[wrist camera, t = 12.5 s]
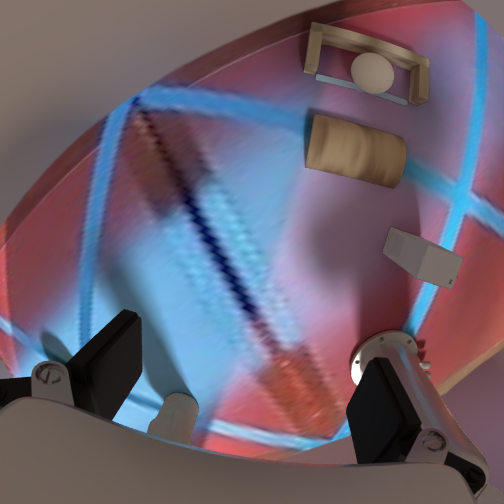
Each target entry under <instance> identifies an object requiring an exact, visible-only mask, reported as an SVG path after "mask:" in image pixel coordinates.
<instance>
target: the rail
mask: <svg viewBox="0 0 504 504" xmlns="http://www.w3.org/2000/svg"><path fill="white" fill-rule="evenodd" d="M321 44H324V45H328V46H333V47H337V48H341V49H345V50H348V51H352V52H356V53H359V54H364V53H376V54H379V55H381V56H383V57H384V58H386V59H387V60H388V61H389V63H390V64H393V65H396V66H398V67H401V68H404V69H406V70H409V71H410V84H409V100H408V102H409V103H412V104H414V105H417V106H418V105H420V104H422V103H424V102H427V101H428V98H429V59H428V58H426V57H423V56H421V55H419V54H416V53H414V52H412V51H409V50H407V49H404V48H401V47H399V46H396V45H394V44H391V43H388V42H385V41H382V40H379V39H376V38H373V37H370V36H367V35H364V34H360V33H357V32H353V31H350V30H346V29H342V28H338V27H334V26H329V25H325V24H320V23H316V22H312V24H311V28H310V32H309V39H308V46H307V52H306V59H305V66H304V72H303V73H308V74H313V75H315V73H316V70H317V68H318V64H319V57H320V49H321Z"/></svg>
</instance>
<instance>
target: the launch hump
mask: <svg viewBox="0 0 504 504" xmlns="http://www.w3.org/2000/svg"><path fill="white" fill-rule="evenodd" d="M405 163H406V144H405V142H404V140H403V138H401V137H399V136H396V135H393V134H390V133H386V132H383V131H380V130H377V129H373V128H370V127H366V126H363V125H359V124H356V123H352V122H348V121H344V120H340V119H336V118H332V117H328V116H323V115H319V114H314V118H313V124H312V130H311V136H310V142H309V148H308V154H307V160H306V166H305V168H310V169H315V170H320V171H324V172H329V173H333V174H338V175H342V176H346V177H350V178H354V179H359V180H362V181H366V182H370V183H374V184H378V185H382V186H385V187H389V188H392V189H393V188H394V187H395V186H396V185H397V184H398V183H399V181H400V179H401V177H402V174H403V172H404V168H405Z"/></svg>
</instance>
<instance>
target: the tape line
mask: <svg viewBox="0 0 504 504" xmlns="http://www.w3.org/2000/svg"><path fill="white" fill-rule="evenodd" d="M316 80H318V81H322V82H327V83H331V84H335V85H339V86H343V87H347V88H351V89H354V90H358V91H361V92H365V91H364V90H362V89H361V88H359V87H358V86H357V85H356V83H352V82H349V81H345V80H341V79H337V78H333V77H329V76H324V75H320V74H316ZM365 93H368V92H365ZM368 94H371V95H375V96H378V97H381V98H384V99H387V100H390V101H393V102H396V103H399V104H401V105H404V106H407V102H408V100H405V99H403V98H400V97H397V96H394V95H391V94H388V93H385V92H383V93H379V94H372V93H368Z"/></svg>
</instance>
